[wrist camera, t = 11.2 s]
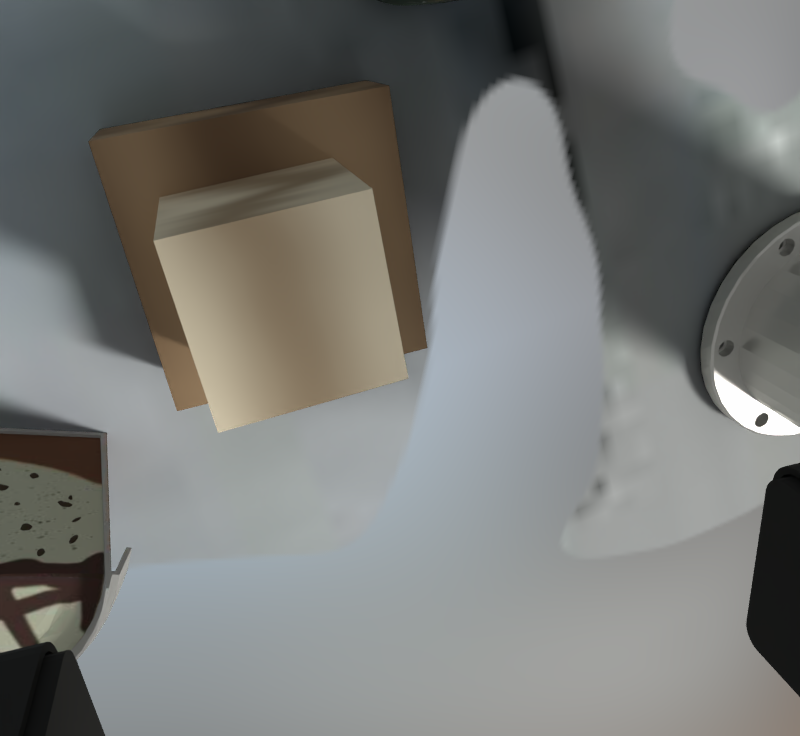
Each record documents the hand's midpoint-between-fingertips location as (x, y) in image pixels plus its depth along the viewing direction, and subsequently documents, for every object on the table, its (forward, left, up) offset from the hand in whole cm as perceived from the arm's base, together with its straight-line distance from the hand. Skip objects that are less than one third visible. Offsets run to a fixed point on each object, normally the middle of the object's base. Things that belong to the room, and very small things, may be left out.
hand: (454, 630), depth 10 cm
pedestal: (0, 0, -23) cm, 23 cm away
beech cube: (+1, 0, -19) cm, 19 cm away
